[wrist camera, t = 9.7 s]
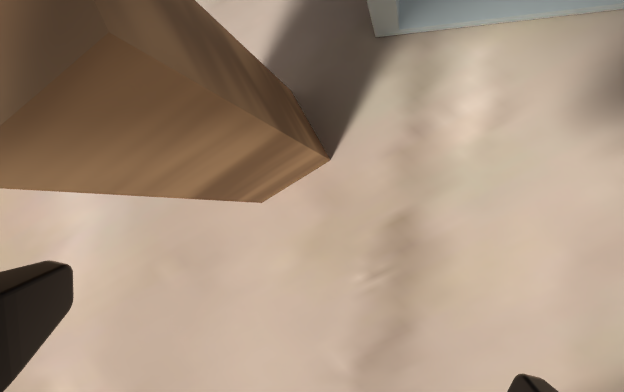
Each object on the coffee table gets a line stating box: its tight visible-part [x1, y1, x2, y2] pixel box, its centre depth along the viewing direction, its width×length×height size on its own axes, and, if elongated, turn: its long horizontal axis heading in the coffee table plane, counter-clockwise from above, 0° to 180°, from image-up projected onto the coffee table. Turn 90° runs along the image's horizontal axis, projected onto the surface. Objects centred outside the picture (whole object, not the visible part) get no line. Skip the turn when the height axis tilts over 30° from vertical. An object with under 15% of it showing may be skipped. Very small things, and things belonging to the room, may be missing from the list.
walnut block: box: [0, 0, 330, 203], centre depth 13 cm, size 4×4×14 cm
